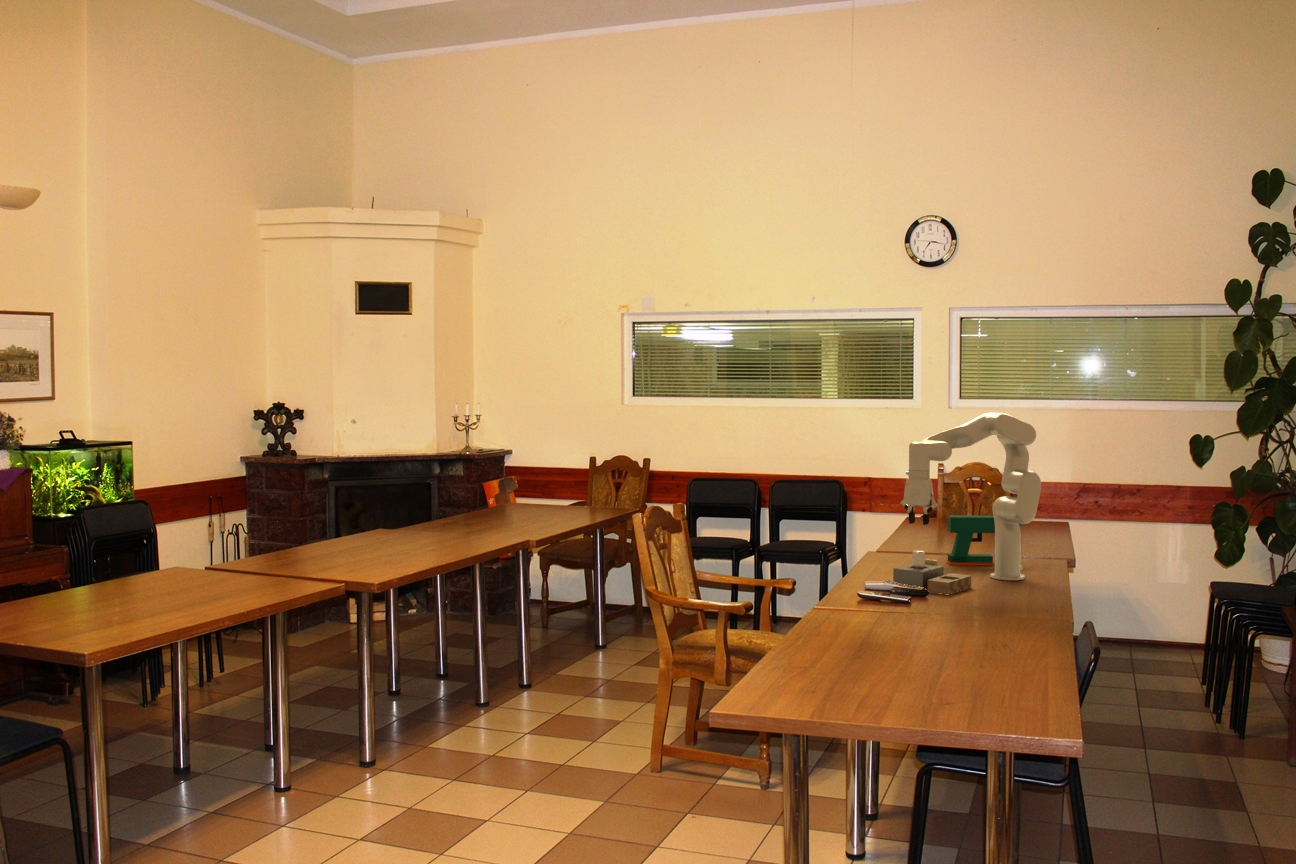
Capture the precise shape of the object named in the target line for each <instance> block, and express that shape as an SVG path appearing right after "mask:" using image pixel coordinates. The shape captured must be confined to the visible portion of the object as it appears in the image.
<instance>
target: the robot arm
mask: <svg viewBox="0 0 1296 864" xmlns="http://www.w3.org/2000/svg"><path fill="white" fill-rule="evenodd" d="M991 436H996V438H997V439H998V441H999V442H1000V443H1001V444H1000V445H1002V447H1003V449H1004V452H1005V463H1004V467H1003V473H1002V478H1001V488H1002V490H1003V491H1005V492H1006V493H1009V494H1014V495H1015V494H1016V495H1017V497H1016V496H1008V495H1006V496H1005V495H1004V496H1003V495H1002V496H1000V497H998V498H996V499H995V501H994V502H993V503H992V516H993V517H994V523H995V533H994V570H993V571H994V572H991V573H990V574H989V575H990V578H992V579H994V580H1000V581H1001V580H1002V581H1023V580H1025V575H1024V574H1021V571H1022V570H1023V569H1024V567H1023V565H1021V560H1022V559H1021V558H1022V557H1021V556H1022V554H1021V553H1022V552H1021V551H1022V550H1021V544H1022V543H1021V542H1022V532H1021V526H1019V524H1018V523H1021V524H1026V525H1027V524H1030V523H1031V522H1032V521H1034V519H1035V517H1036V515H1037V511H1038V506H1039V501H1040V496H1041V491H1042V481H1041V478H1040V476H1039V474H1037V473H1036V472H1035V471H1032V470H1028V469H1029V462H1030V453H1029V450H1028V448H1027V447H1028V446H1031V445H1032V444H1033V443H1034V442H1035V441H1036V438H1037V431H1036V429H1035V427H1034V426H1033V425H1031V424H1030V423H1028V422H1026V421H1023V420H1021V419H1019V418H1016V417H1015V416H1012V415H1010V414H1007V413H1003V412H987V413H983V414H981V415H979V416H977V417H975V418H973V419H971V420H970V421H967V422H965V423H963V424H961V425H959V426H955V427H952V428H949V429H947V430H944V431H939V432H937V433H934V434H933V435H930V436H928V437H927V438H925V439H923V440H921V441H912V442H910V443H909V445H908V471H905V475H906V476H908V477H907V478H906V479H905V480H906V481H905V483H904V493H903V494H904V495H903V499H902V500H901V501H900V505H901V506H903V508H904V509H905V510H906V512H907V513H908V523H909V524H911V525H912V524H915V522H916V512H914V511H915V507H916V506H917V507H922V509H923V514H922V525H923V526H927V525H929V524H930V514H931V513H932V511H934V509H936V508H938V506H939V505H938V503H937V501H936V500H935V499H934V489H933V487H934V486H933V482H932V479H931V478H930V476H931V475H930V474H931V473H930V472H931V471H930V469H931V468H930V467H931V463H930V462H931V461H935V462H945V461H947V460H949V459H950V458H951V456H952V454H953V449H961V448H968V447H971V446H974V445H975V444H978V443H979V442H981V441H983V440H985V439H987V438H989V437H991Z"/></svg>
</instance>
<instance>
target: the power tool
mask: <svg viewBox="0 0 1296 864" xmlns="http://www.w3.org/2000/svg"><path fill="white" fill-rule="evenodd" d="M1018 524H1019V527H1021V526H1026V525H1027V524H1021V523H1018ZM947 532H949V533H950V534H955V539H954V543H953V545H952V550H951V553H947V559H946V560H945V563H946V562H947V563H948V564H949V565H948V564H947V563H946V564H947V565H948V566H977V565H994V566H995V561H994V556H993V555H991V554H989V553H988V554H987V553H985V554H984V553H983V554H981V553H980V554H979V553H977V554H975V553H969V552H970V548H971V545H972V543H973V542H976V543H981V542H983V534H995V523H994V517H993V515H963V514H962V515H961V514H960V515H956V514H955V515H954V514H952V515H948V514H947ZM974 534H977V535H976V537H974Z"/></svg>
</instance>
